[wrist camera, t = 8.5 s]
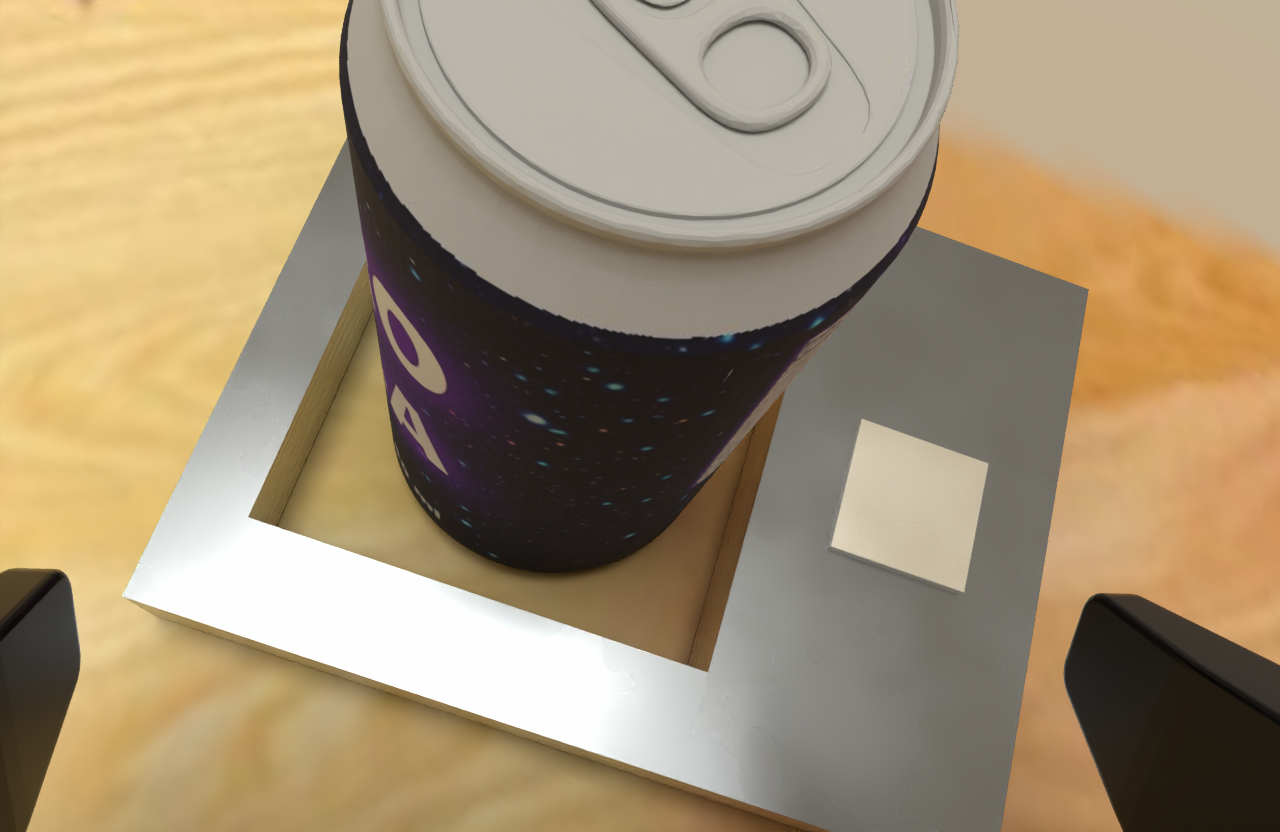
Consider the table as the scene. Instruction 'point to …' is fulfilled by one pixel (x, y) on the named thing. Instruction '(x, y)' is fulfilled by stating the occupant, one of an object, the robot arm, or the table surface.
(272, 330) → the grey flat frame
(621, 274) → the beverage can
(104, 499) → the table surface
